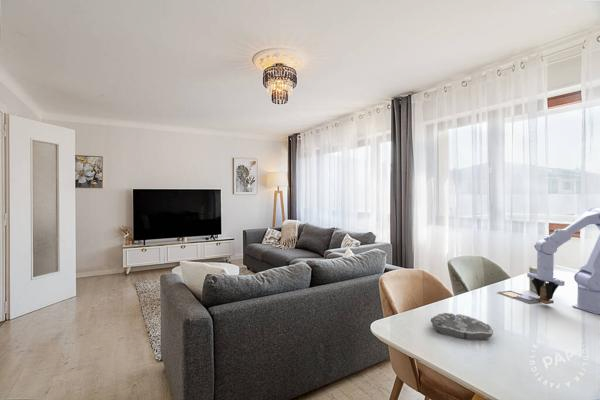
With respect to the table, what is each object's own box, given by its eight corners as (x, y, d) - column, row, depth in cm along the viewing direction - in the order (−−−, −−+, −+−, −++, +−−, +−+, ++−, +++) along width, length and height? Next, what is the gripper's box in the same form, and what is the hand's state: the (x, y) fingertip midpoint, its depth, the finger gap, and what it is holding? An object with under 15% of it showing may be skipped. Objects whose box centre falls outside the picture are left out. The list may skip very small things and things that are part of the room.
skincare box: (546, 293, 152) (547, 269, 152) (537, 293, 153) (538, 269, 152) (537, 289, 159) (537, 266, 159) (528, 289, 159) (528, 266, 159)
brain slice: (482, 324, 115) (482, 316, 115) (498, 345, 99) (498, 336, 99) (427, 318, 121) (427, 310, 121) (432, 337, 105) (433, 328, 105)
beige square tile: (527, 297, 147) (527, 296, 147) (513, 298, 144) (513, 297, 144) (510, 291, 155) (510, 290, 155) (496, 292, 153) (496, 291, 153)
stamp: (553, 303, 134) (553, 286, 134) (546, 304, 133) (546, 287, 133) (543, 299, 138) (543, 283, 138) (535, 300, 137) (536, 284, 137)
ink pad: (541, 302, 140) (541, 299, 140) (529, 303, 138) (529, 300, 138) (526, 297, 147) (526, 294, 147) (515, 298, 145) (515, 295, 145)
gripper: (522, 264, 141) (522, 293, 141) (556, 271, 127) (555, 303, 127) (533, 263, 143) (533, 291, 143) (568, 270, 129) (567, 302, 129)
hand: (544, 297), depth 136 cm, fingers closed on stamp, 3 cm apart
